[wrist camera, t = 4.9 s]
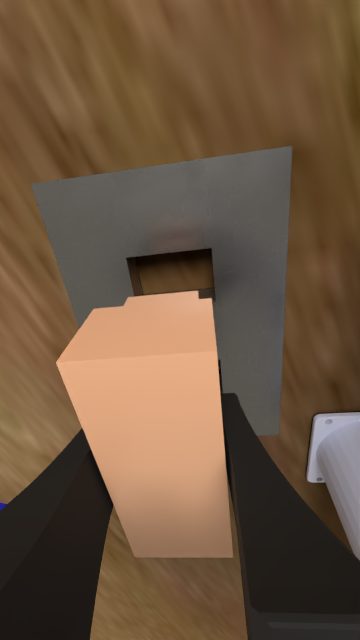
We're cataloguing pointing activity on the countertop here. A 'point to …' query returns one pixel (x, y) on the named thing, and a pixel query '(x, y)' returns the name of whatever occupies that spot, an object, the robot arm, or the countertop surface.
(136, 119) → the countertop surface
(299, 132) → the countertop surface
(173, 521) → the tall peach brick
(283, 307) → the rail plate
